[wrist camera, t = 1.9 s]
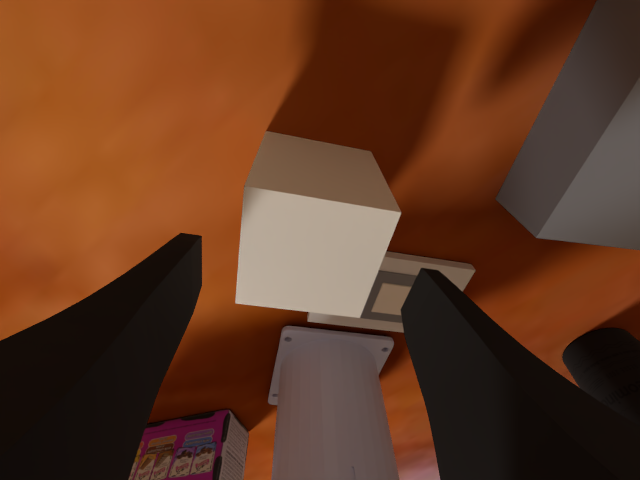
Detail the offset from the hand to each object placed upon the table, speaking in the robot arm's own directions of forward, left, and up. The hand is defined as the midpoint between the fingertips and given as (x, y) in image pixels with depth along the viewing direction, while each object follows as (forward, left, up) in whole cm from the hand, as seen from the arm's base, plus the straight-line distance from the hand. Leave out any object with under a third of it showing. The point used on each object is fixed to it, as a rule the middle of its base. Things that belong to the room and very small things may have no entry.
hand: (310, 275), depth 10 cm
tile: (-6, -6, -7) cm, 11 cm away
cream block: (0, 0, -7) cm, 7 cm away
